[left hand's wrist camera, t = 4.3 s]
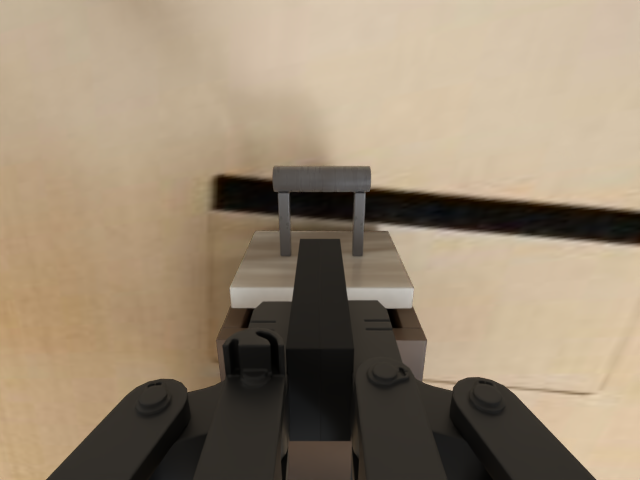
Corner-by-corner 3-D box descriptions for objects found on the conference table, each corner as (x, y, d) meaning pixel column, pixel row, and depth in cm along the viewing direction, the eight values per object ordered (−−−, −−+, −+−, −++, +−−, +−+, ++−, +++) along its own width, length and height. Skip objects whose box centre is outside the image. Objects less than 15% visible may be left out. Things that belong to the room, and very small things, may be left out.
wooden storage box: (250, 255, 28) (215, 339, 19) (392, 255, 28) (427, 340, 19) (264, 443, 35) (243, 573, 25) (378, 443, 35) (398, 574, 25)
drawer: (249, 153, 24) (218, 183, 17) (393, 154, 24) (425, 183, 17) (267, 421, 32) (251, 520, 25) (375, 422, 32) (391, 521, 25)
